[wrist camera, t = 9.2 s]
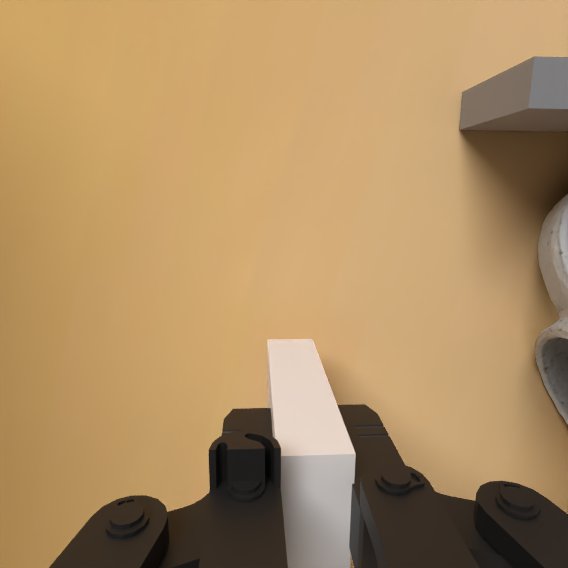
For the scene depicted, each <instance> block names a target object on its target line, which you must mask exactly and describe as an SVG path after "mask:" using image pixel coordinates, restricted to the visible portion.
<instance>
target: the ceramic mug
mask: <svg viewBox="0 0 568 568" xmlns="http://www.w3.org/2000/svg"><path fill="white" fill-rule="evenodd" d="M538 262H539V267H540V271H541V273H542V276H543V280H544V283H545V285H546V288H547V291H548V293H549V296H550V298H551V300H552V302H553V304H554V306H555V308H556V310H557V312H558V316H559V320H558V321H556V322H555V323H553V324H552V325H551V326H549V327H548V328H546V329H544V330H543V331H542V333H541V334H540V335H539V336H538V338H537V340H536V344H535V357H536V362H537V366H538V369H539V372H540V374H541V377H542V380H543V383H544V385H545V388H546V389H547V391H548V393H549V395H550V397H551V399H552V400H553V402H554V404H555V406H556V408H557V410H558V412H559V413H560V414H561V415H562V416H563V418H564V420H565V422H566V423H567V425H568V194H567V195H565V196H564V197H563V198H562V199H561V200H559V201H558V202H557V203H556V205H555V206H554V207H553V208H552V210H551V211H550V212H549V213H548V215H547V216H546V218H545V220H544V222H543V225H542V229H541V233H540V237H539V240H538Z"/></svg>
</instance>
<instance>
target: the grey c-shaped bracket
mask: <svg viewBox="0 0 568 568" xmlns="http://www.w3.org/2000/svg"><path fill="white" fill-rule="evenodd" d="M459 130H494V131H548V132H568V57H532V58H530V59H528V60H526V61H524V62H522V63H520V64H518V65H516V66H514V67H512V68H510V69H508V70H506V71H504V72H502V73H500V74H498V75H496V76H494V77H492V78H490V79H488V80H486V81H484V82H482V83H480V84H478V85H476V86H474V87H472V88H470V89H468V90H466V91H464V92H462V104H461V116H460V127H459Z"/></svg>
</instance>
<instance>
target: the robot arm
mask: <svg viewBox="0 0 568 568" xmlns="http://www.w3.org/2000/svg"><path fill="white" fill-rule="evenodd" d="M209 474H210V492H209V493H208V494H207V495H206V496H205V497H204V498H202V499H201V500H199V501H197V502H196V503H194V504H192V505H189V506H186V507H184V508H180V509H177V510H173V511H169V512H167V510H166V506H165V505H164V504H163V503H161V502H160V501H159V500H158V499H156V498H152V497H149V496H129V497H125V498H121V499H117V500H115V501H113V502H111V503H109V504H107V505H105V506H103V507H102V508H101V509H100V510H98V511H97V512H96V513H95V514H94V515H93V516H92V517H91V518H90V519H89V520H88V522H87V523H86V524H85V525H84V526H83V528H82V529H81V530H80V531H79V532H78V534H77V535H76V536H75V537H74V538H73V540H72V541H71V542H70V543H69V544H68V546H67V547H66V548H65V549H64V550H63V552H62V553H61V554H60V555H59V556H58V558H57V559H56V560H55V561H54V562H53V564H52V565H51V566H50V567H49V568H350V565H351V555H352V559H353V563H354V567H355V568H568V514H566V513H565V512H564V511H563V510H561V509H560V508H559V507H557V506H556V505H555V504H554V503H552V502H551V501H550V500H548V499H547V498H546V497H544V496H543V495H541V494H539V493H538V492H536V491H534V490H533V489H530V488H528V487H525V486H522V485H520V484H517V483H513V482H506V481H493V482H488V483H486V484H483V485H481V486H480V488H479V489H478V491H477V493H476V501H473V500H467V499H462V498H457V497H451V496H447V495H443V494H440V493H437V492H435V491H434V489H433V487H432V486H431V484H430V482H429V481H428V480H427V479H426V478H425V477H424V476H423V474H421V473H420V472H418V471H416V470H415V469H413V468H411V467H408V466H405V464H404V462H403V460H402V459H401V457H400V455H399V453H398V451H397V449H396V447H395V446H394V444H393V442H392V440H391V438H390V437H389V436H388V433H387V431H386V429H385V427H383V423H382V421H381V420H380V418H379V416H378V414H377V413H376V412H374V411H373V410H372V409H370V408H369V407H367V406H366V405H365V404H364V405H337V403H336V400H335V398H334V395H333V392H332V390H331V387H330V384H329V382H328V379H327V376H326V374H325V371H324V368H323V366H322V363H321V360H320V358H319V355H318V352H317V350H316V347H315V344H314V342H313V339H268V340H267V408H251V409H233V410H232V411H231V412H230V413H229V414H228V415H227V416H226V417H225V419H224V423H223V431H222V436H221V437H219V438H218V439H217V440H215V441H214V442H213V443H212V445H211V447H210V449H209Z"/></svg>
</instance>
